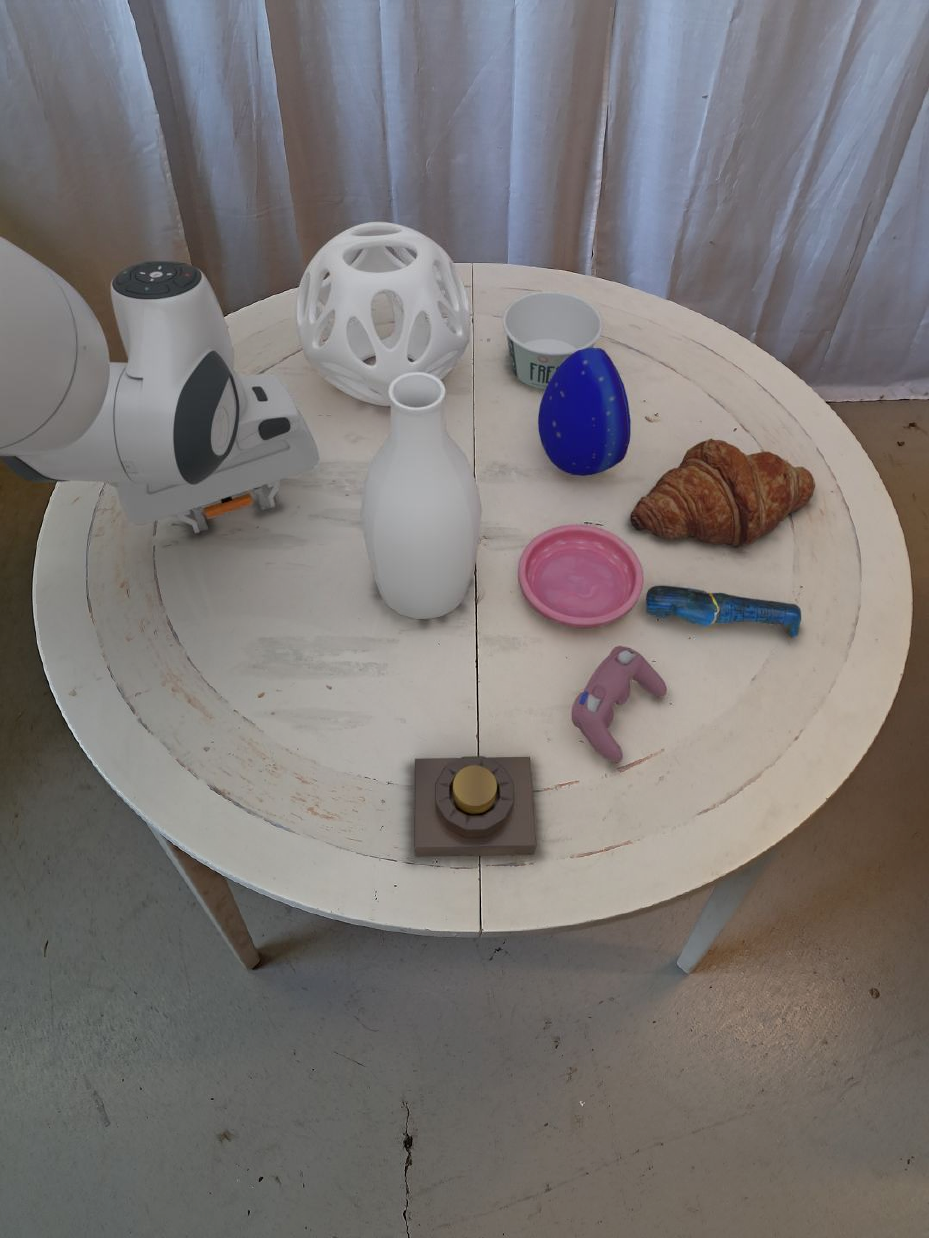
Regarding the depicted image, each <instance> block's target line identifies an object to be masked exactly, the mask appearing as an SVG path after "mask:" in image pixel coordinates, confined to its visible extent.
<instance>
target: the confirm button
mask: <svg viewBox="0 0 929 1238" xmlns="http://www.w3.org/2000/svg"><path fill="white" fill-rule="evenodd" d="M496 792H497V782H496V779H495V777H494V775H493V774H492V772H491V771H489V770H488V769H487V768H485V767H482V766H478V765H471V766H467V767H465V768H463V769H461V770H460V771H459V772H458V773H457V774H456V776H455V778H454V781H453V799H454V801H455V803H456V805H457V806H458V807H459V808H460V809H461V810H463V811H464V812H467V813H471V814H479V813H483V812H485V811H487V810H488V809H489V808H491V806H492V805H493V804H494V802H495V799H496Z"/></svg>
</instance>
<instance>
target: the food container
mask: <svg viewBox="0 0 929 1238" xmlns="http://www.w3.org/2000/svg"><path fill="white" fill-rule="evenodd" d="M501 323H502V328H503V330H504V331H503V332H505V335H506V337H507V338H506V339H507V345H508V346H507V347H508V352H509V361H510V368H511V371H512V373H513V375H514V376H515V378H517V379H518V380H519V381H520V382H521V383H523V384H525V385H527V386H529V387H532V388H535V389H539V390H544V391H545V390H546V387H547V385H548V384H549V382H550V380H551V378H552V376H553V375H554V373H555V372H556V370H557V369H558V368H559V366H560V365H561V364H562V363H563V362H564V361H565V359H566V358H568V357H569V356H570V355H572V354H573V353H575V352H576V351H578V350H582V349H585V348H595V344H596V343H598V341H599V340H600V338H601V336H602V334H603V331H604V321H603V317H602V315H601V313H600V312H599V311H598V309H597V308H596V307H595V306H594V305H593V304H592V303H591V302H589V301H587V299H584V298H583V297H580V296H578V295H575V294H572V293H568V292H564V291H558V290H557V291H556V290H542V291H540V290H539V291H533V292H530V293H527V294H524V295H521V296H519V297H517V298H515V299H514V300H513V301H512V302H511V303H509V304H508V306H506V307H505V310H504V312H503V314H502V319H501Z"/></svg>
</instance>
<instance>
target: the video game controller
mask: <svg viewBox="0 0 929 1238" xmlns="http://www.w3.org/2000/svg"><path fill="white" fill-rule="evenodd" d="M631 681H634V682H636V683H637V684H639V685H640V686H641V687H642V688H643V689H644V690H645V691H647V692H649V693H650V694H652V695H653V696H657V697H664V696H666V695H667V690H668V689H667V685H666V682H665V680H664V679H663V678H662V676H661V675H660V674H659V673H658V672H657V671H656V669H654V667H653V666H652V665H651V664H650V663H649V662H648V661H647V659H646V658H645V657H644V656H643V655H642V654H641V653H639V652H638V651H636V650H635V649H633V648H631V647H626V646H623V645H618V646H615V647H614V648H612V650H611V651H610V653H609V655H608V656H606V657H605V658H604V660H602V661H601V663H600V664H599V665H598V666H597V668H596V669H595V671H594V672H593V673H592V676H591V677H590V678H589V680H588V681H587V683H586V685H585V687H584V689H583V691H581V692H580V693H579V694H578V695H577V696H576V698H575V700H574V701H573V703H572V707H571V713H570V714H571V721H572V724H573V726H574V727H575V728H577V729H579V730H580V732H581V734H582V735H583V736H584V739H586V740H587V742H588V743H589V745H591V746H592V748H593V749H594V750H595V751H596V752H597V753H598V754H599V755H600V756H601V757H603V758H604V759H606V760H607V761H608V762H611V763H620V762H621V761H622V760H623V758H624V757H623V751H622V748H621V746H620V745H619V744H618V742H617V741H616V739H615V738H614V737H613V735H612V734H611V732H610V730H609V729H608V728H609V727H610V726H611V725H612V722H613V719H614V712H615V711H614V708H613V706H614V705H615V704H617V705H622V706H623V705H624V704H625V703H627V702H628V700H629V698H630V695H631Z"/></svg>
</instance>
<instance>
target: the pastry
mask: <svg viewBox="0 0 929 1238" xmlns="http://www.w3.org/2000/svg"><path fill="white" fill-rule="evenodd" d="M816 486H817V485H816V481H815V478H814V476H813V474H812V473H811V471H810V470H808V469H806V468H805V467H804V466H793V465H792V464H791V463H790V462H788V461H786V459H784V458H782V457H781V456H779V455H778V454H775V453H773V452H770V451H762V452H757V453H751V454H746V453H745V452H743V451H741V450H740V448H739V447H737V446H736V445H733V444H730V443H728V442H727V441H725V440H721V439H713V438H709V439H707V440H704V441H701V442H698V443H696V444H695V445H693V446H691V447H690V448H689V449H688V450H686V453H684V455H683V458H682V460H681V462H680V464H679V466H678V467H674V468H672V469H669V470H668V471H666V473H664V474H663V475H662V476H660V478H659V479H658V480H657V481H656V483H655V485H654V486H652V488H651V489H650V491H649V492H648V493H647V494H646V495H645V496H641V497H640V499H639V500H638V501H637V503H636V505H635V507H634V508H633V509H632V511H631V513H630V515H629V520H630V522H631V526H632V527H633V528H634V529H635V530H636V531H642V530H645V531H647V532H649V533H651V535H654V536H657V537H659V538H663V539H666V540H667V539H668V540H669V539H670V540H676V539H684V538H687V537H688V538H695V539H697V540H698V541H699V540H700V541H702V542H705V543H709V544H713V545H723V544H725V545H727V546H731V547H733V548H739V547H742V546H744V545H751V544H754V542H755V541H756V539H758V538H759V537H760V538H761V537H763V536H765V535H766V534H768V533H769V532H772V531H774V530H775V529H776V528H777V526H778V525H779V523H780V522H783V521H784V520H785V519H786V517H787V516H788V515H789V514H791V513H796V512H797V511H799V510H800V509H802V508H803V507H804V506H805V505H806V504H807V503H808V502H809V501H810V500H811V498H812V497H813V495H814V491H815V489H816Z"/></svg>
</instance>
